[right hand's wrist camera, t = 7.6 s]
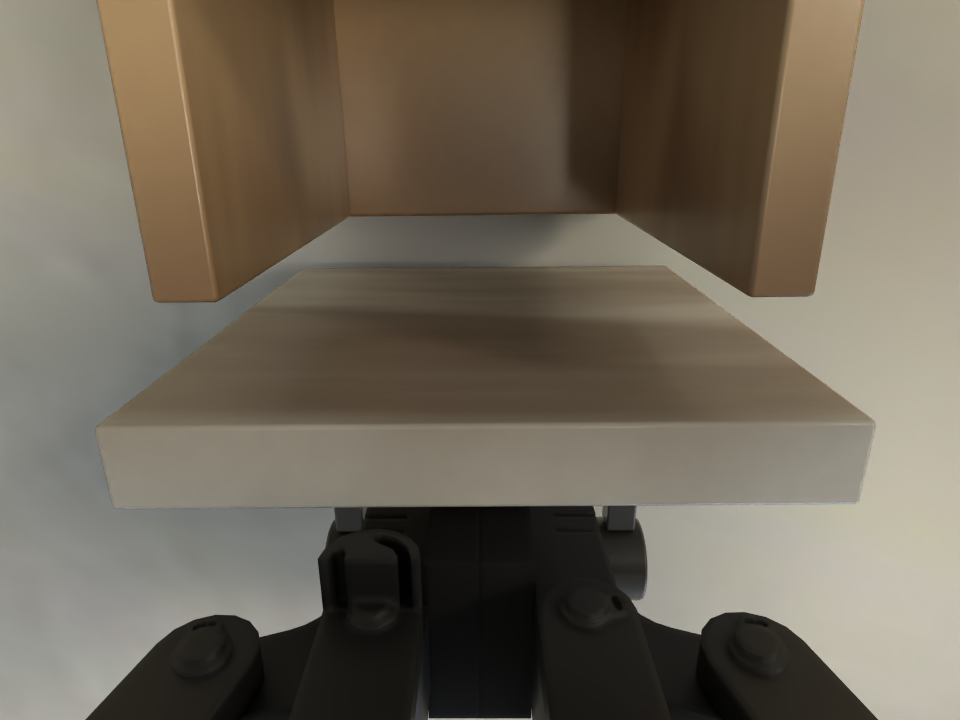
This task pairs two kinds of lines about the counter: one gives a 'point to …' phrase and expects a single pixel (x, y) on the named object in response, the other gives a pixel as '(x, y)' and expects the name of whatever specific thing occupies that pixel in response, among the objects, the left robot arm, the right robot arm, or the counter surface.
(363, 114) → the drawer
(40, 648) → the counter surface
